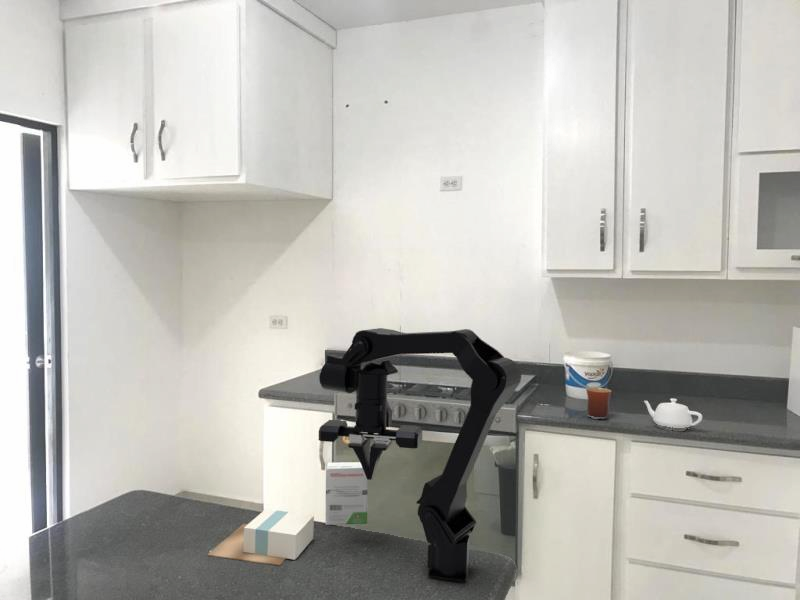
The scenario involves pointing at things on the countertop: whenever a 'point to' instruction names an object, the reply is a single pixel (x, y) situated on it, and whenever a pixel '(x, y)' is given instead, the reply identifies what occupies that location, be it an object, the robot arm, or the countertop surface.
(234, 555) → the board
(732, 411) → the countertop surface
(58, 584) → the countertop surface
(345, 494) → the ink box
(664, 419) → the teapot
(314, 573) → the countertop surface
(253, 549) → the carton
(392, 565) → the countertop surface
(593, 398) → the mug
